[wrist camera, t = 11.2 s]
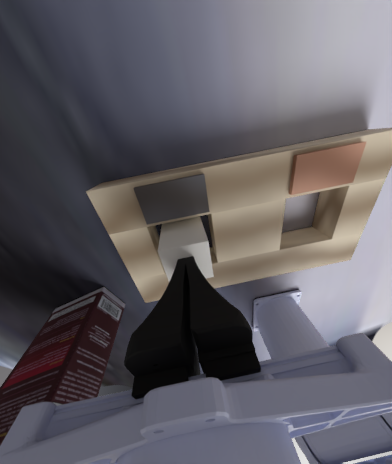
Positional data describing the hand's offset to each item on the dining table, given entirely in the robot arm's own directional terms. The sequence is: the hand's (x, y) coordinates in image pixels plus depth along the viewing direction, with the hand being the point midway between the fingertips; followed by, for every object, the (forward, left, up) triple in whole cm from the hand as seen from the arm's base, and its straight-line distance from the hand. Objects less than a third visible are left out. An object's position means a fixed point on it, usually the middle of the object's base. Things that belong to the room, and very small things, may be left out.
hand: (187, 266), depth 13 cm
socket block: (0, -7, -6) cm, 9 cm away
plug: (0, 0, -6) cm, 6 cm away
